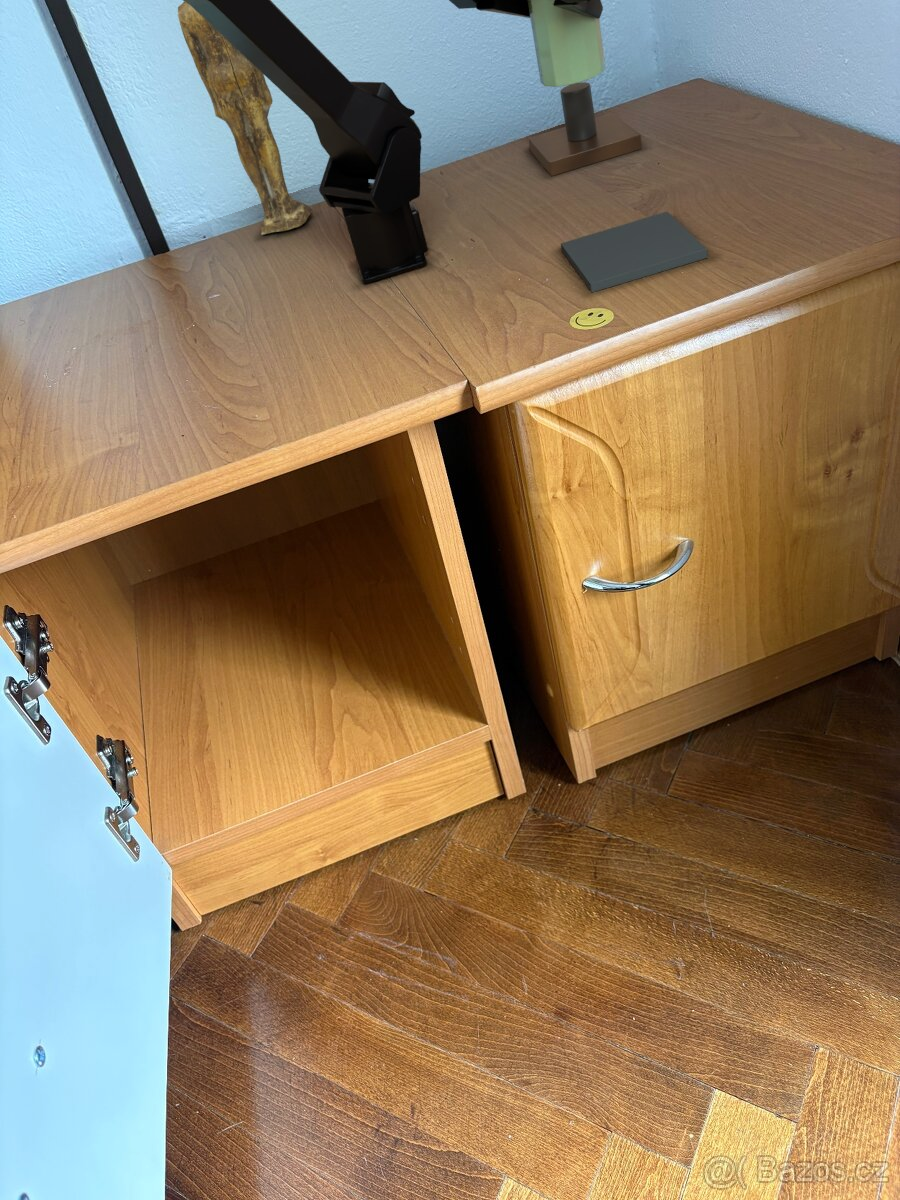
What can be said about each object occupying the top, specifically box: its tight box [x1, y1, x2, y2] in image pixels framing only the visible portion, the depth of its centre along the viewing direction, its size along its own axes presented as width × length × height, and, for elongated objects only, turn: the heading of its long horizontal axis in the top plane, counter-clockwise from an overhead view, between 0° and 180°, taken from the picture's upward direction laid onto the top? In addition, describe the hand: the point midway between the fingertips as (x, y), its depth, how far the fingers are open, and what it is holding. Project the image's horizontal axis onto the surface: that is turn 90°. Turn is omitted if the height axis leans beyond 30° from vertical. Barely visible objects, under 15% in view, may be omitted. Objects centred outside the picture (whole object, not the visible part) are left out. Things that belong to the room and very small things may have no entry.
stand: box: [527, 81, 643, 177], centre depth 109 cm, size 10×10×6 cm
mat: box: [560, 211, 708, 293], centre depth 87 cm, size 10×10×1 cm
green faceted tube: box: [528, 0, 606, 88], centre depth 103 cm, size 7×7×11 cm
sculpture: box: [177, 1, 313, 236], centre depth 105 cm, size 7×6×30 cm
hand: (574, 14), depth 103 cm, fingers closed on green faceted tube, 7 cm apart
